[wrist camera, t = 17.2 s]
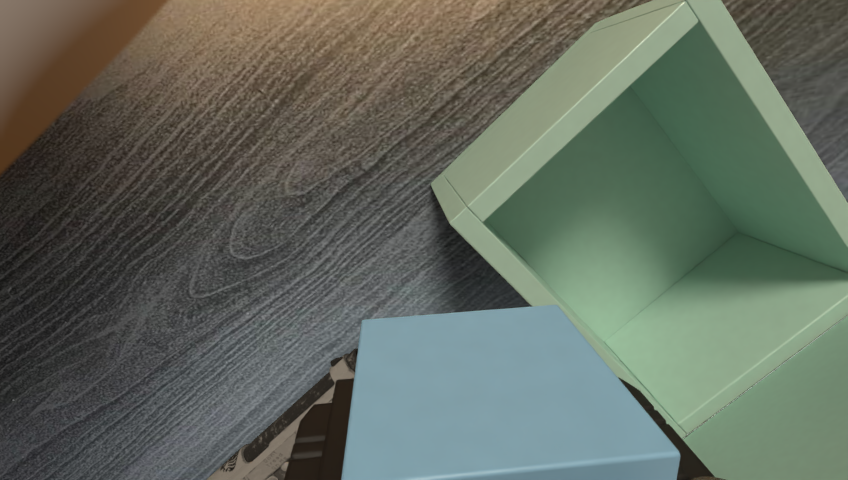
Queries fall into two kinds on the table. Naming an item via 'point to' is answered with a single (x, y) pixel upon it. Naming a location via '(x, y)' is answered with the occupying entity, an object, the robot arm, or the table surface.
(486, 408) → the blue-grey cube
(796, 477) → the lid
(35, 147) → the table surface
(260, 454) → the handgun
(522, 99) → the green open box
